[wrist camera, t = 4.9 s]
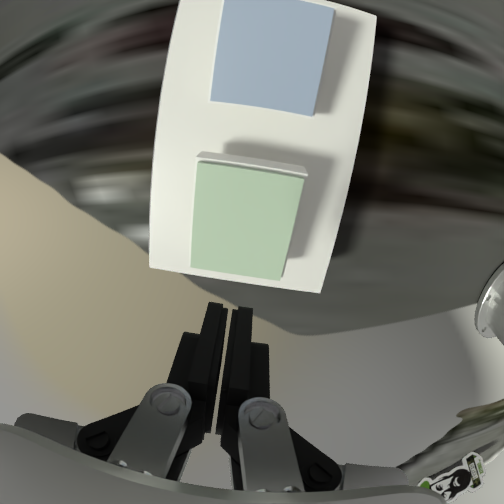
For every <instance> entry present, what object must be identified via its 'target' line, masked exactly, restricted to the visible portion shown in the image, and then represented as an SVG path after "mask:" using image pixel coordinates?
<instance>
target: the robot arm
mask: <svg viewBox="0 0 504 504" xmlns="http://www.w3.org/2000/svg"><path fill="white" fill-rule="evenodd" d="M227 314H228V309H227V308H223V304H220V303H214V302H209V303H208V307H207V311H206V314H205V318H204V322H203V325H202V329H201V333H200V334H195V333H189V332H184V333H183V335H182V338H181V341H180V344H179V347H178V350H177V353H176V356H175V359H174V362H173V365H172V368H171V371H170V374H169V377H168V380H167V383H163V384H158V385H155V386H154V387H152V388H150V389H149V391H148V392H147V393H146V394H145V396H144V398H143V400H142V401H141V403H140V405H138V406H135V407H133V408H130V409H128V410H125V411H123V412H120V413H117V414H115V415H112V416H110V417H107V418H104V419H101V420H99V421H96V422H93V423H90V424H88V425H86V426H79V425H78V424H77V423H75V422H70V421H64V420H59V419H54V418H50V417H45V416H41V415H36V414H31V413H26V414H23V415H21V416H20V417H19V418H17V420H16V422H15V425H14V426H13V425H8V424H3V423H0V504H447V502H446V501H445V499H444V498H443V497H442V496H441V495H440V494H439V493H437V492H436V491H433V490H431V489H427V488H424V487H419V486H410V485H408V478H407V476H406V474H405V473H404V472H403V471H402V470H400V469H398V468H394V467H379V466H367V465H357V464H349V463H346V464H345V465H339V464H337V463H336V462H334V461H333V460H332V459H330V458H329V457H328V456H326V455H325V454H324V453H322V452H321V451H320V450H318V449H317V448H316V447H314V446H313V445H312V444H310V443H309V442H308V441H307V440H305V439H304V438H303V437H301V436H300V435H299V434H297V433H296V432H295V431H293V430H292V429H291V428H290V427H289V426H288V422H287V418H286V414H285V411H284V409H283V408H282V407H281V406H280V405H279V404H278V403H277V402H275V401H273V400H271V399H270V390H269V389H270V387H269V386H270V383H269V345H268V344H263V343H255V342H251V336H252V316H253V308H247V307H240V306H239V307H238V310H235V309H233V310H232V317H231V323H230V330H229V337H228V344H227V351H226V357H225V365H224V371H223V378H222V385H221V393H220V402H219V409H218V417H217V425H216V433H215V434H218V435H221V447H222V448H223V449H224V450H225V451H226V452H227V453H228V454H229V467H230V477H231V486H232V490H229V489H219V488H213V487H206V486H199V485H193V484H188V483H182V482H180V480H181V477H182V475H183V472H184V469H185V467H186V464H187V462H188V459H189V456H190V454H191V450H192V448H194V447H195V446H197V445H199V444H201V443H202V440H204V434H205V433H211V427H212V419H213V413H214V406H215V400H216V394H217V387H218V381H219V374H220V367H221V361H222V353H223V345H224V337H225V328H226V321H227ZM475 326H476V329H477V330H478V332H479V333H480V334H481V335H482V336H483V337H486V338H492V337H497V338H498V339H499V340H500V341H501V343H502V344H503V345H504V263H503V264H502V265H501V266H500V267H499V268H498V269H497V270H496V271H495V273H494V274H493V275H492V277H491V278H490V279H489V281H488V283H487V284H486V286H485V288H484V290H483V292H482V294H481V296H480V298H479V301H478V303H477V307H476V311H475Z"/></svg>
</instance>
